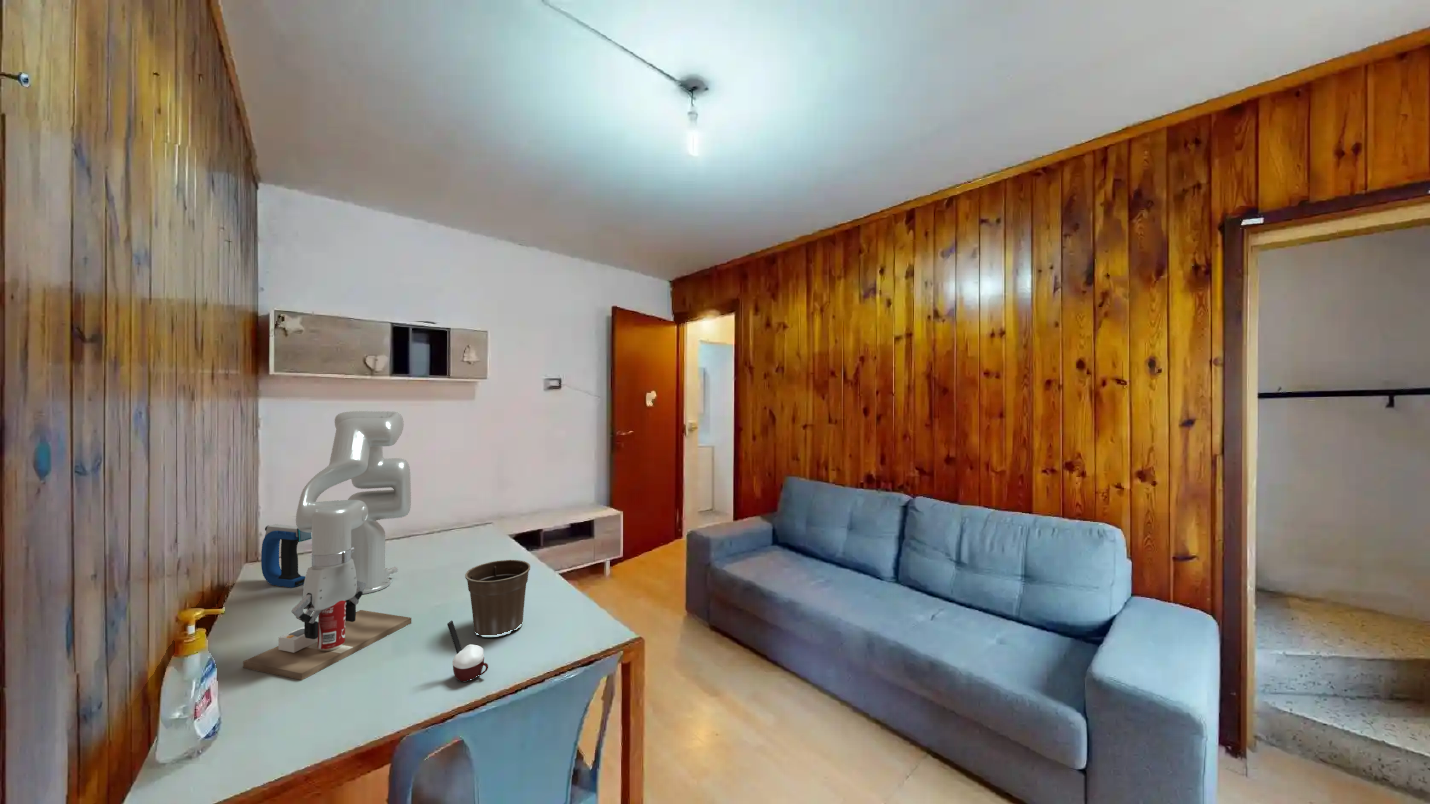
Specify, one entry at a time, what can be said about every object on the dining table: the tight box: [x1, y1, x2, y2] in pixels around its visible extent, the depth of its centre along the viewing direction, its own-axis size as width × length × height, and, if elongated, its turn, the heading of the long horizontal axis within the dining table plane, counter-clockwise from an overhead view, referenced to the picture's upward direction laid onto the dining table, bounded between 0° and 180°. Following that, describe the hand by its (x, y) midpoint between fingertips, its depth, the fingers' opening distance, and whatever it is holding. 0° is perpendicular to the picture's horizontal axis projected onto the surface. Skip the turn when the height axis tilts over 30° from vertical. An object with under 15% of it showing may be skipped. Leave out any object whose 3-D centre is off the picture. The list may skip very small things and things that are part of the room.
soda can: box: [317, 601, 346, 651], centre depth 117 cm, size 5×5×12 cm
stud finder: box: [277, 626, 318, 653], centre depth 118 cm, size 7×5×3 cm
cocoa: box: [447, 620, 489, 682], centre depth 108 cm, size 10×6×12 cm, turn 60°
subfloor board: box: [242, 609, 412, 681], centre depth 121 cm, size 28×18×2 cm, turn 166°
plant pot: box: [464, 559, 531, 635], centre depth 130 cm, size 16×16×16 cm
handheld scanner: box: [260, 523, 312, 589], centre depth 159 cm, size 5×16×20 cm, turn 78°
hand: (331, 629), depth 116 cm, fingers open, 8 cm apart
